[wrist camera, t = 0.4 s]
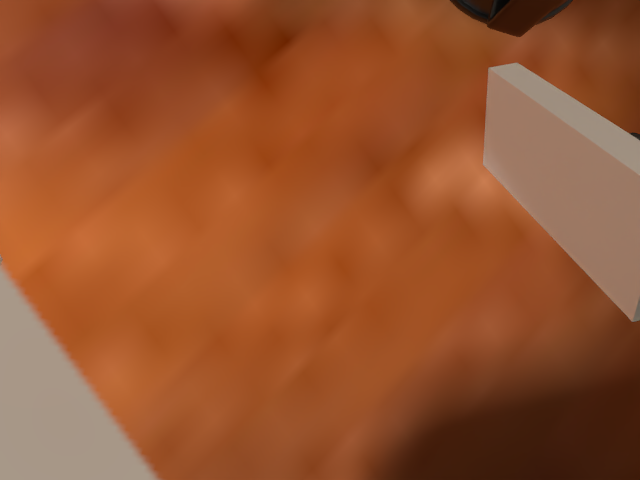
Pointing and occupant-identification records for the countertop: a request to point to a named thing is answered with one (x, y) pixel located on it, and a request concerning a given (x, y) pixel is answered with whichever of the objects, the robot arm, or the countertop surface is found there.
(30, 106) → the countertop surface
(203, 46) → the countertop surface
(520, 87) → the robot arm
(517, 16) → the french press
